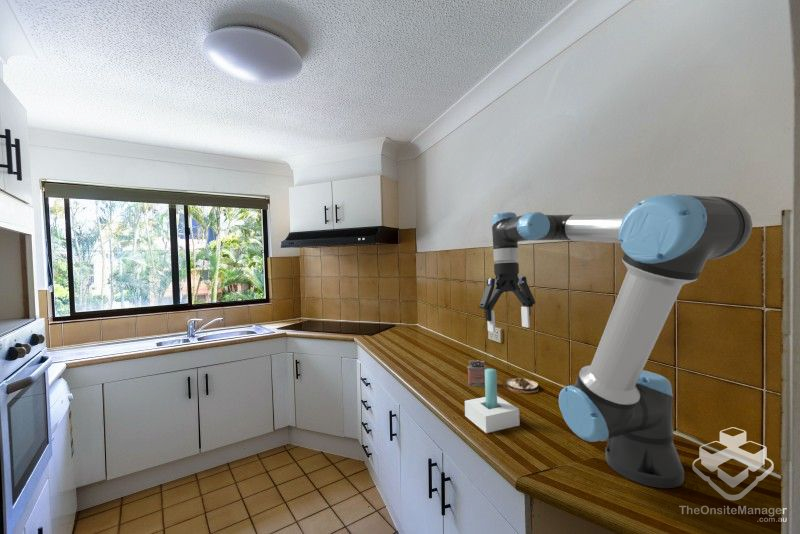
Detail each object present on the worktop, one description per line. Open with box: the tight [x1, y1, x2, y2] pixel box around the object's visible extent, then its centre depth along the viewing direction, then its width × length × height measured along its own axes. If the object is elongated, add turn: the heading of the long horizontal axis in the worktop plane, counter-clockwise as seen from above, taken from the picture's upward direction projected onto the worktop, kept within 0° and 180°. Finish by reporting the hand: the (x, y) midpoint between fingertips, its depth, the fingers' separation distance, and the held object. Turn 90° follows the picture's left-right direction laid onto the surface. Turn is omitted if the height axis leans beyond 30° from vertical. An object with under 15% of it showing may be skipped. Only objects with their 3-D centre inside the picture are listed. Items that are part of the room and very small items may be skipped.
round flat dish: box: [505, 377, 540, 395], centre depth 131 cm, size 15×15×4 cm
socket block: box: [464, 395, 521, 434], centre depth 105 cm, size 12×12×5 cm
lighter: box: [466, 359, 488, 387], centre depth 136 cm, size 8×3×10 cm, turn 84°
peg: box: [484, 368, 498, 409], centre depth 105 cm, size 4×4×16 cm
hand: (509, 329), depth 105 cm, fingers open, 13 cm apart
